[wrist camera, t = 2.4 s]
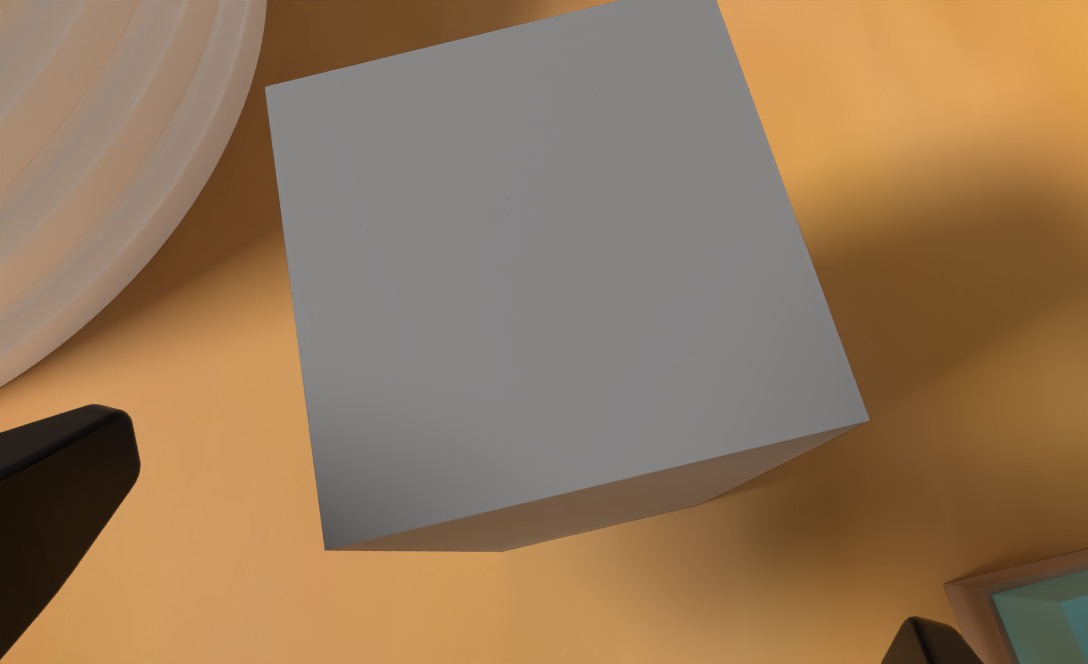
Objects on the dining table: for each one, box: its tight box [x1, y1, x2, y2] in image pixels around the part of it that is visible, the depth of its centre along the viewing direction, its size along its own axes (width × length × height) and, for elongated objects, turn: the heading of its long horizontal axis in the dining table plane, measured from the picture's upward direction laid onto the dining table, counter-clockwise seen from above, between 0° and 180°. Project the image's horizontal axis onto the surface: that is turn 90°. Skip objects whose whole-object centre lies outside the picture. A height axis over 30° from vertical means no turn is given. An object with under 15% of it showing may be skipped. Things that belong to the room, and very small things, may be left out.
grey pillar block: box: [265, 0, 870, 552], centre depth 13 cm, size 5×5×12 cm
